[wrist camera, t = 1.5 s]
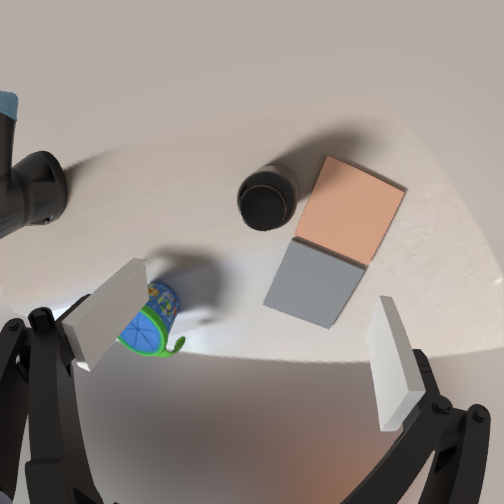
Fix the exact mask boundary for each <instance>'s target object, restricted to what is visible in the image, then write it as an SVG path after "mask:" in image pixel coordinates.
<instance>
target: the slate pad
mask: <svg viewBox="0 0 504 504" xmlns="http://www.w3.org/2000/svg"><path fill="white" fill-rule="evenodd" d="M364 271H365V270H364V268H362V267H360V266H357V265H355V264H352V263H350V262H348V261H345V260H343V259H341V258H338V257H336V256H333V255H331V254H329V253H326V252H324V251H321V250H319V249H316V248H314V247H312V246H309V245H307V244H304V243H302V242H299V241H297V240H294V239H291V242H290V244H289V246H288V249H287V251H286V253H285V255H284V258H283V260H282V262H281V264H280V267H279V269H278V271H277V273H276V276H275V278H274V280H273V282H272V284H271V287H270V289H269V291H268V293H267V295H266V298H265V300H264V302H263V305H265V306H268V307H270V308H273V309H276V310H278V311H281V312H283V313H286V314H289V315H291V316H294V317H297V318H300V319H302V320H305V321H308V322H310V323H313V324H316V325H319V326H322V327H324V328H327V329H330V327H331V326H332V324H333V323H334V321H335V320H336V318H337V316H338V315H339V313H340V312H341V310H342V308H343V307H344V305H345V303H346V302H347V300H348V299H349V297H350V295H351V294H352V292H353V290H354V288H355V287H356V285H357V283H358V282H359V280H360V278H361V276H362V275H363V273H364Z"/></svg>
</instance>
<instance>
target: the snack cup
mask: <svg viewBox="0 0 504 504" xmlns="http://www.w3.org/2000/svg"><path fill="white" fill-rule="evenodd" d="M147 287H148V295H149V300H148V302H147V303H146V304H145V305H144V306H143V307H142V309H141V310H140V311H139V312H138V313H137V315H136V316H135V317H134V318H133V319H132V321H131V322H130V323H129V324H128V325H127V327H126V328H125V329H124V330H123V331H122V333H121V334H120V335H119V336H118V337H117V338H118V339H119V341H120V342H121V343H122V344H123V345H125V346H126V347H127V348H128V349H130V350H132V351H133V352H135V353H138V354H140V355H144V356H159V357H169V356H171V355H173V354H175V353H177V352H178V351H179V350H180V349H181V348H182V346H183V345H184V343H185V337H181V338H179V339H178V340H177V341H176V344H175V346H174V350H173V351H172V352H169V351H167V349H166V344H167V341H168V335H169V333H170V330H171V328H172V326H173V323H174V320H175V318H176V316H177V313H178V310H179V300H178V298H177V297H176V296H175V294H174V292H173V291H172V290H170V289H169V288H167V286H165V285H164V284H158V283H152V284H148V285H147Z"/></svg>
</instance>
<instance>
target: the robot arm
mask: <svg viewBox="0 0 504 504" xmlns="http://www.w3.org/2000/svg"><path fill="white" fill-rule="evenodd" d="M17 107H18V97H17V96H16V94H14V93H12V92H5V91H0V239H1V238H3V237H5V236H7V235H9V234H11V233H12V232H14V231H16V230H18V229H20V228H22V227H24V226H34V225H46V224H49V223H51V222H53V221H55V220H57V219H58V218H59V217H60V216H61V214H62V212H63V210H64V207H65V203H66V182H65V177H64V173H63V170H62V168H61V166H60V164H59V162H58V160H57V159H56V158H55V157H54V156H53V155H52V154H51V153H49V152H47V151H39V152H35V153H32V154H30V155H28V156H27V157H25V158H24V159H22V160H21V161H20V162H19V163H17V164H16V165H14V166H13V167H12V168H11V166H12V152H13V141H14V131H15V125H16V122H17V117H16V116H17ZM148 300H149V295H148V287H147V278H146V268H145V260H143V259H137V258H133V259H132V260H131V261H129V262H128V263H127V264H126V265H125V266H123V267H122V268H121V269H120V270H119V271H118V272H116V273H115V274H114V275H113V276H112V277H111V278H109V279H108V280H107V281H106V282H105V283H104V284H102V285H101V286H100V287H99V288H98V289H97V290H96V291H94V292H93V293H92V294H87V295H85V296H83V297H81V298H80V299H79V300H78V301H76V302H75V304H73V305H72V306H71V307H70V309H68V310H66V311H65V312H64V313H63V314H62V315H61V316H60V317H59V318H58V319H57V320H56V321H55V320H54V317H53V314H52V311H51V310H50V309H49V308H47V307H40V308H37V309H35V310H33V311H32V312H31V313H30V314H29V315H28V320H29V322H30V325H31V327H32V328H28V327H26V326H25V324H24V321H23V320H22V319H20V318H14V319H11V320H9V321H8V322H7V323H6V324H5V325H4V327H3V329H2V331H1V332H0V504H13V503H12V502H13V499H14V495H15V491H16V484H17V476H18V467H19V459H20V452H21V446H22V440H23V434H24V429H25V424H26V419H27V415H28V416H29V417H28V419H29V439H30V451H31V460H30V461H28V462H26V464H25V475H26V482H27V489H28V494H29V500H30V504H104V503H103V500H102V498H101V496H100V494H99V493H98V491H97V489H96V487H95V485H94V482H93V479H92V475H91V472H90V468H89V464H88V460H87V456H86V451H85V447H84V442H83V438H82V432H81V427H80V421H79V415H78V408H77V401H76V394H75V384H74V374H73V366H72V363H71V361H72V360H73V359H74V358H75V359H76V362H77V364H78V366H79V367H81V368H83V369H86V370H88V371H91V370H92V369H93V367H94V366H95V365H96V363H97V362H98V361H99V360H100V358H101V357H102V356H103V355H104V353H105V352H106V351H107V350H108V348H109V347H110V346H111V345H112V344H113V342H114V341H115V340H116V339H117V337H118V336H119V335H120V334H121V333H122V331H123V330H124V329H125V328H126V327H127V325H128V324H129V323H130V322H131V321H132V319H133V318H134V317H135V316H136V315H137V313H138V312H139V311H140V310H141V309H142V307H143V306H144V305H145V304H146V303H147V302H148ZM365 338H366V343H367V348H368V353H369V358H370V364H371V369H372V375H373V380H374V386H375V393H376V400H377V407H378V414H379V421H380V430H381V431H397V429H398V428H399V427H400V426H401V424H403V430H404V431H403V432H402V433H401V435H400V436H399V437H398V438H397V439H396V440H395V442H394V444H393V445H392V446H391V448H390V449H389V450H388V452H387V453H386V454H385V455H384V457H383V458H382V459H381V460H380V461H379V463H378V464H377V465H376V466H375V467H374V468H373V470H372V471H371V472H370V473H369V474H368V475H367V476H366V478H364V480H363V481H362V482H361V483H360V484H359V485H358V486H357V487H356V488H355V489H354V490H353V491H352V492H351V493H350V494H349V495H348V496H347V497H346V498H345V499H344V500H343V501H342V502H341V503H340V504H397V503H398V502H399V500H400V499H401V498H402V496H403V495H404V493H405V492H406V491H407V490H408V488H409V487H410V485H411V484H412V483H413V481H414V479H415V478H416V477H417V475H418V473H419V472H420V471H421V469H422V467H423V466H424V464H425V463H426V461H427V459H428V458H429V456H430V454H431V453H432V451H433V450H434V451H435V455H434V458H433V462H432V465H431V468H430V471H429V474H428V477H427V480H426V483H425V486H424V489H423V492H422V494H421V497H420V499H419V502H418V504H478V502H479V498H480V494H481V490H482V484H483V479H484V474H485V468H486V461H487V454H488V446H489V436H490V422H491V418H490V413H489V411H488V410H487V409H486V408H485V407H484V406H482V405H480V404H474V405H472V406H471V407H470V408H469V409H468V410H467V411H464V410H461V409H456V408H453V406H452V404H451V402H450V401H449V400H448V399H447V398H446V397H444V396H441V395H440V392H439V389H438V386H437V383H436V381H435V378H434V375H433V373H432V369H431V367H430V364H429V361H428V359H427V357H426V355H425V354H424V353H423V352H422V351H421V350H420V349H412V348H411V345H410V342H409V339H408V337H407V334H406V331H405V329H404V326H403V324H402V321H401V318H400V316H399V313H398V311H397V308H396V306H395V304H394V301H393V299H392V297H387V296H379V297H378V300H377V303H376V306H375V309H374V312H373V315H372V318H371V321H370V323H369V326H368V329H367V332H366V334H365ZM16 358H17V359H18V361H17V363H16ZM114 504H118V503H116V502H114Z"/></svg>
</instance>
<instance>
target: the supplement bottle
mask: <svg viewBox="0 0 504 504" xmlns="http://www.w3.org/2000/svg"><path fill="white" fill-rule="evenodd" d="M298 193H299V188H298V183H297V180H296V178H295V176H294V175H293V174H292V172H291V171H289V170H288V169H287V168H285V167H283V166H279V165H267V166H264V167H262V168H260V169H259V170H257V171H256V172H254V173H253V174H251V175H250V176H249V177H247V178H246V179H245V180H244V182H243V183H242V184H241V186H240V188H239V190H238V194H237V205H238V209H239V213H240V216H241V217H242V220H243V221H244V223H245V224H247V225H248V226H249V227H251V228H252V229H255V230H259V231H267V230H273V229H277V228H279V227H282V226H283V225H285V224H286V223H287V222H289V220H290V219H291V218H292V217H293V215H294V213H295V210H296V207H297V201H298Z"/></svg>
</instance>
